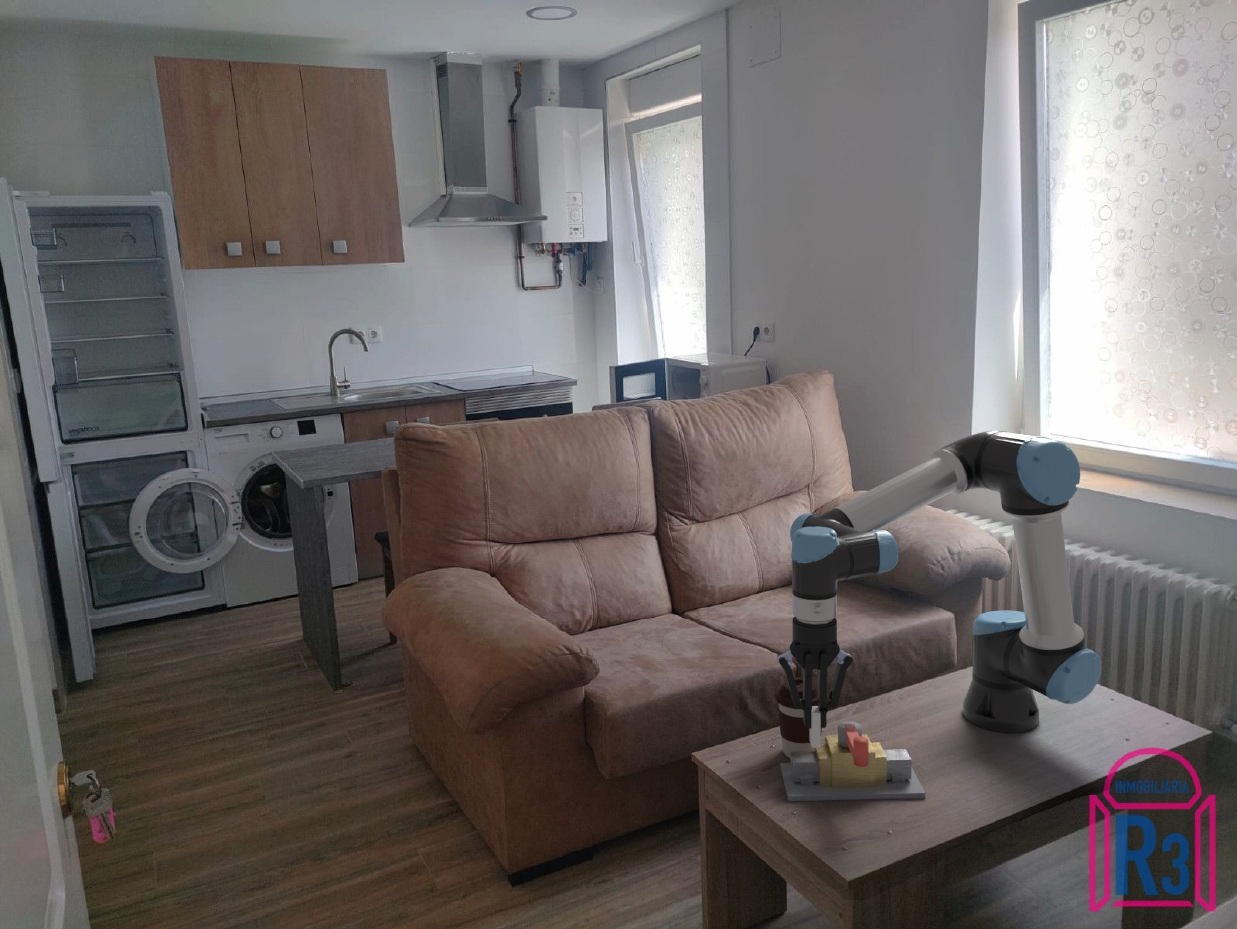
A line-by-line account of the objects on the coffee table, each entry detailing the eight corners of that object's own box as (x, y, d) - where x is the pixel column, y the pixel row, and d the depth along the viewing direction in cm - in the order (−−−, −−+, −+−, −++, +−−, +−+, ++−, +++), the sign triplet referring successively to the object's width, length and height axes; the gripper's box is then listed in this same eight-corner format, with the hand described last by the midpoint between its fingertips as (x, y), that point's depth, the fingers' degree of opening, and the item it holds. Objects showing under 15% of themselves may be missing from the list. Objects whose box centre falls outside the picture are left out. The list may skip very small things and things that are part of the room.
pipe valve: (903, 766, 179) (903, 733, 178) (913, 786, 172) (913, 751, 171) (789, 769, 180) (788, 736, 179) (794, 788, 174) (793, 754, 172)
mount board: (908, 764, 182) (908, 760, 182) (925, 798, 170) (925, 793, 170) (780, 768, 183) (780, 763, 183) (788, 801, 171) (788, 796, 171)
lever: (835, 737, 177) (835, 709, 176) (859, 736, 177) (859, 708, 176) (850, 773, 164) (849, 744, 163) (875, 773, 164) (875, 743, 163)
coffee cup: (826, 766, 183) (825, 696, 180) (775, 764, 185) (774, 694, 182) (825, 742, 192) (824, 674, 189) (777, 740, 194) (775, 673, 191)
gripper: (779, 625, 156) (780, 755, 160) (857, 624, 155) (856, 753, 159) (773, 610, 163) (775, 734, 167) (848, 608, 162) (848, 733, 167)
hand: (815, 743), depth 163 cm, fingers closed
